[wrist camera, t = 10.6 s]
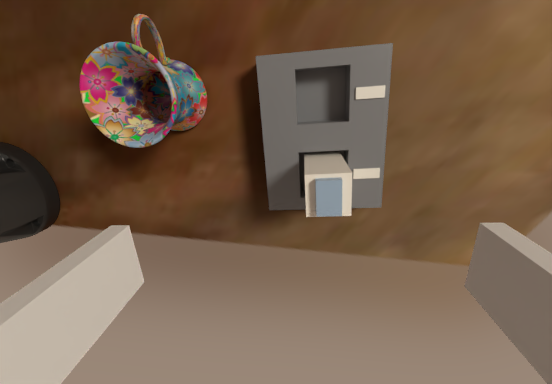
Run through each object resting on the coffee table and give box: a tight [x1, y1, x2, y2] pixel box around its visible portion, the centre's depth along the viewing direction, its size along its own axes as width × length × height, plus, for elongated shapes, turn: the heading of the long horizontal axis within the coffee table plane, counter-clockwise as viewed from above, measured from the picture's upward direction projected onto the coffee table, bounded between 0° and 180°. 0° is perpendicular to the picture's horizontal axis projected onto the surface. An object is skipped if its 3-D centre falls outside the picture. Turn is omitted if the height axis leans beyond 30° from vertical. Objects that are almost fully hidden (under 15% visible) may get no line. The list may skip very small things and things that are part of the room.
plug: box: [304, 151, 352, 217], centre depth 30 cm, size 4×4×11 cm
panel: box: [256, 43, 393, 210], centre depth 32 cm, size 14×18×4 cm
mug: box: [80, 14, 207, 148], centre depth 29 cm, size 12×9×11 cm
